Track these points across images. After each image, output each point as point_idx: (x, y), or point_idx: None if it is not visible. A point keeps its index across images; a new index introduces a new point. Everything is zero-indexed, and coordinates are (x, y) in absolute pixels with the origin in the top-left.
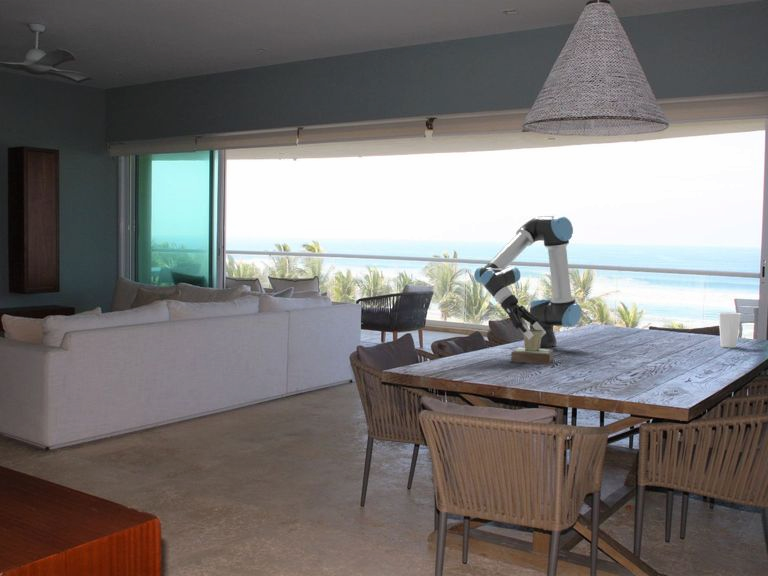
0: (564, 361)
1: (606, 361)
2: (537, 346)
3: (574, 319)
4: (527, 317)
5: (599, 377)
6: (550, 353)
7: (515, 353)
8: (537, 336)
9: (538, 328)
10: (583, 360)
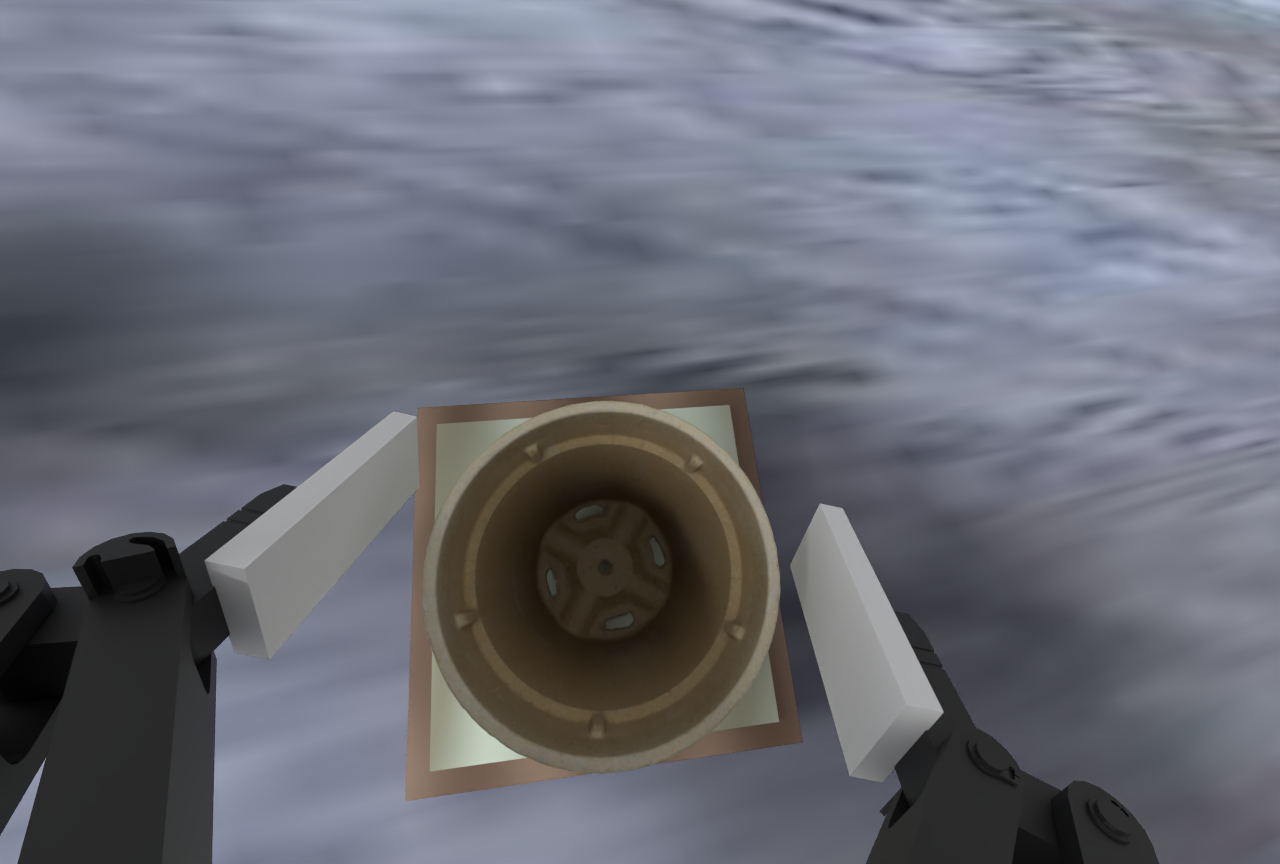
0: (544, 338)
1: (428, 115)
2: (655, 501)
3: None
4: (186, 853)
5: (1028, 131)
6: (665, 393)
7: (793, 694)
8: (691, 481)
9: (347, 520)
10: (437, 234)
